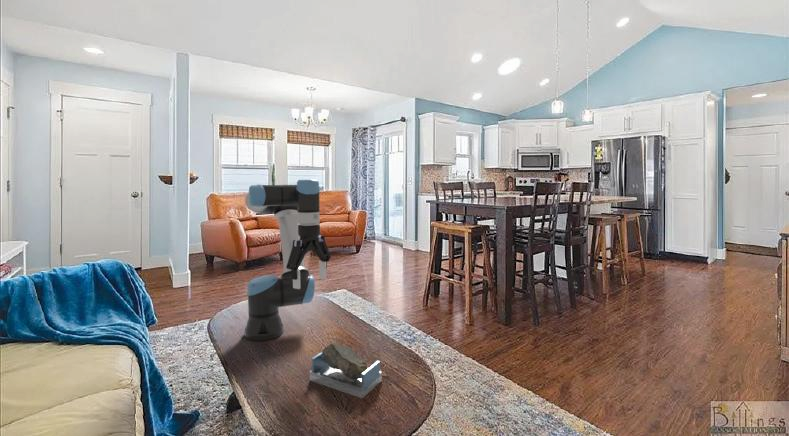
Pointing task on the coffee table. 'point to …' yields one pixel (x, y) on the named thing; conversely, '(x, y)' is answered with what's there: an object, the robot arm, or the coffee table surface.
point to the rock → (344, 360)
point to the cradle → (344, 377)
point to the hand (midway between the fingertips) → (310, 283)
